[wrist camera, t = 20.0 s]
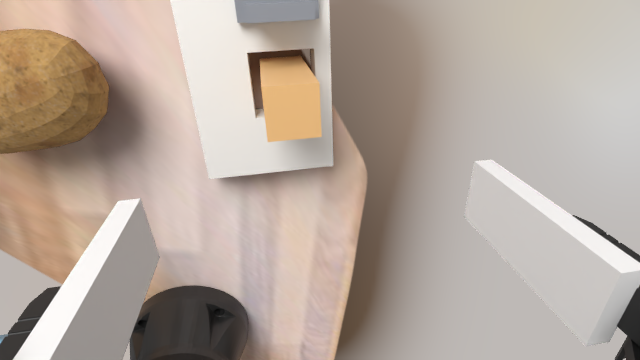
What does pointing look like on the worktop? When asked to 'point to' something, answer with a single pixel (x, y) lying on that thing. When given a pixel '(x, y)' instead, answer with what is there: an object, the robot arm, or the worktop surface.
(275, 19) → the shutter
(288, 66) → the plug
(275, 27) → the socket board
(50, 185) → the worktop surface
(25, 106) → the potato
